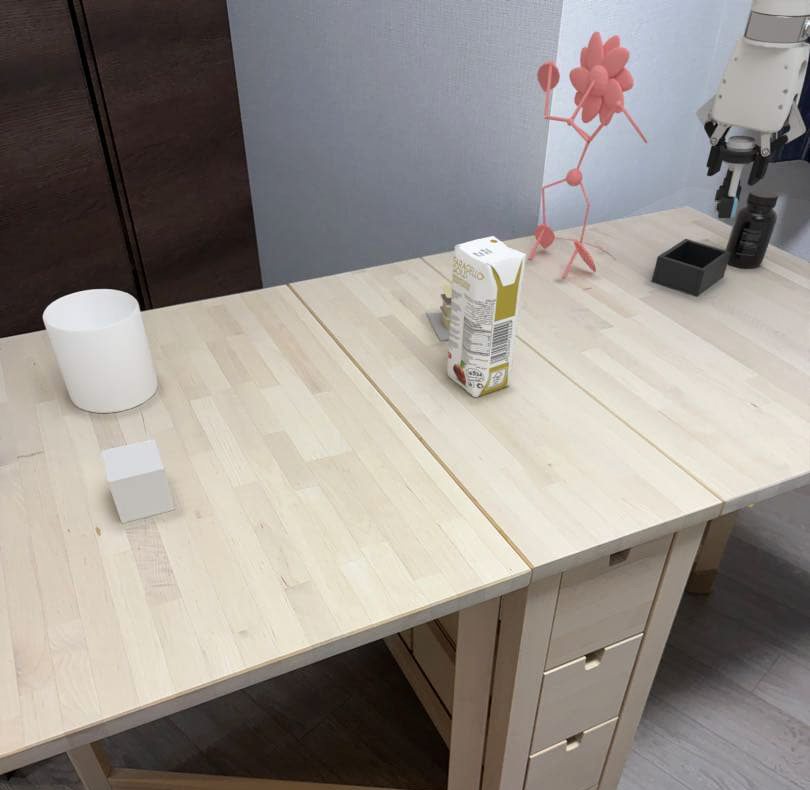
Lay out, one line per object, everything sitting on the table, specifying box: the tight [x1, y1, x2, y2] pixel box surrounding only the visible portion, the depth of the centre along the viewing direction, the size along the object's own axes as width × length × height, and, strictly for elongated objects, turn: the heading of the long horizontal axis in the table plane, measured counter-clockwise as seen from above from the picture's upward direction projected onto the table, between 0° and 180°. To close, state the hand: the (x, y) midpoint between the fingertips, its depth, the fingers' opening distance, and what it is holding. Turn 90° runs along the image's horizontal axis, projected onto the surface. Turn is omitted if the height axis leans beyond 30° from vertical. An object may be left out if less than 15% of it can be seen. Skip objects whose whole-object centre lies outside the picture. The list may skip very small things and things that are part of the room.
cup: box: [42, 288, 159, 414], centre depth 99 cm, size 12×12×12 cm
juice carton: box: [447, 235, 527, 398], centre depth 100 cm, size 8×9×19 cm
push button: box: [713, 135, 761, 219], centre depth 108 cm, size 7×5×10 cm
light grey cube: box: [100, 438, 176, 524], centre depth 84 cm, size 6×6×6 cm
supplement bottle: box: [725, 188, 779, 269], centre depth 133 cm, size 7×7×12 cm
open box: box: [651, 238, 731, 297], centre depth 130 cm, size 9×11×4 cm
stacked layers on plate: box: [426, 284, 452, 341], centre depth 116 cm, size 10×9×6 cm
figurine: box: [528, 31, 648, 291], centre depth 124 cm, size 15×26×35 cm, turn 33°
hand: (733, 177), depth 108 cm, fingers closed on push button, 5 cm apart
